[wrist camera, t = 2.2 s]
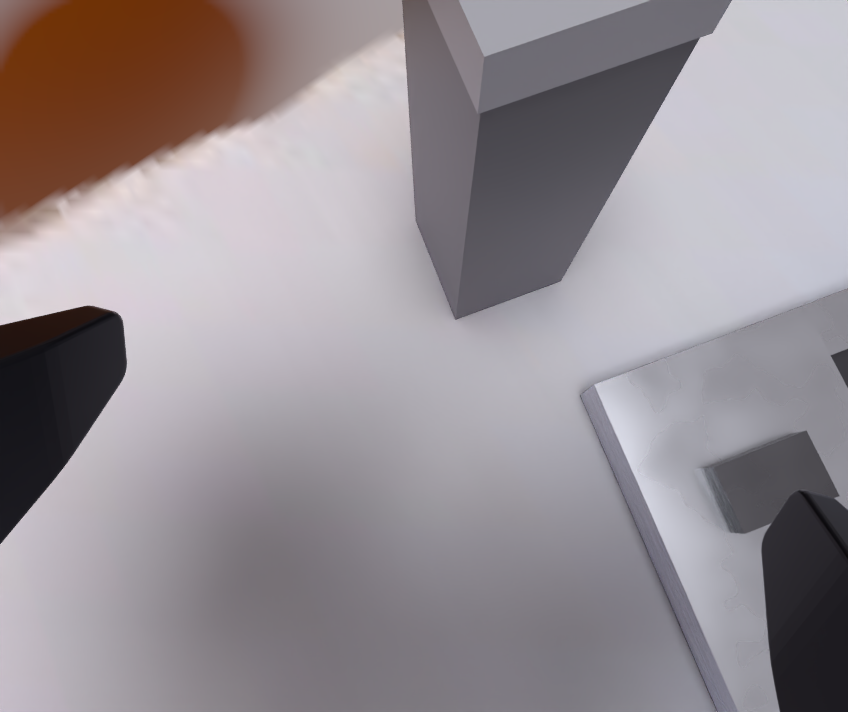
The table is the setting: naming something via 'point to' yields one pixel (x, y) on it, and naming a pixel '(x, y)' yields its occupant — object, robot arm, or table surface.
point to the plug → (531, 126)
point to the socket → (729, 473)
